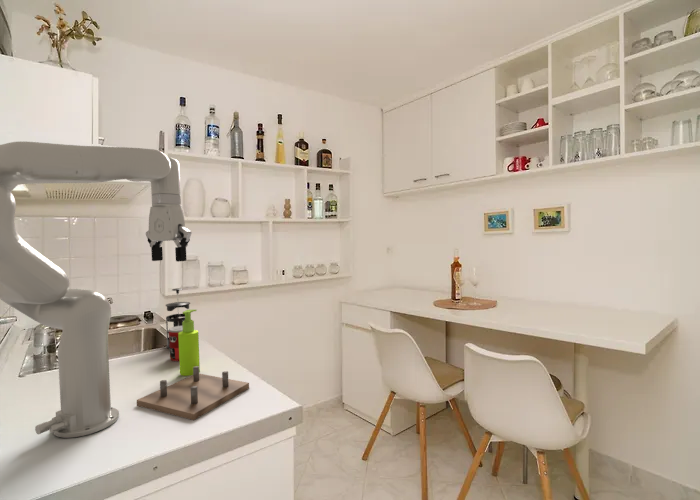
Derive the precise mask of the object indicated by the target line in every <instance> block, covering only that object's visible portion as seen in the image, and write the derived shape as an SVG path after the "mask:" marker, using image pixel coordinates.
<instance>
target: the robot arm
mask: <svg viewBox="0 0 700 500" xmlns="http://www.w3.org/2000/svg"><path fill="white" fill-rule="evenodd" d="M180 171H181V170H180V162H179V161H178V160H177V159H176V158H173V157H169V156H167V155H166V154H165V153H164V152H162V151H160V150H157V149H153V148H143V147H142V148H140V147H125V146H123V147H122V146H119V147H118V146H117V147H115V146H100V145H99V146H97V145H96V146H95V145H79V144H78V145H77V144H76V145H75V144H62V143H49V142H36V141H35V142H34V141H11V142H7V143H3V144H0V300H1V301H2V302H4V303H5V304H7V305H9V306H10V307H11V308H13V309H15V310H17V311H18V312H20V313H21V314H22V315H25V316H26V317H28V318H30V319H32V320H34V321H35V322H36V323H38V324H41V325H42V326H44V327H47V328H52V329H57V330H62V332H61V337H60V339H59V343H58V347H57V348H58V349H57V360H58V361H57V363H58V379H59V382H58V383H59V396H60V397H59V398H60V400H59V402H60V410H58V411H57V410H56V411H55V416H54V417H52V418H51V419H50V420H49V421H44V422H42V423H40V424H37V425H35V428H34V430H35V433H36V435H41V434H42V433H45V432H48V431H49V433H51V434H53V435H55V436H56V437H58V438H66V439H67V438H78V437H83V436H88V435H91V434H95V433H97V432H100V431H103V430H104V429H106V428H108V427H110V426H112V425H113V424H114V423H116V421H117V420H118V419H119V416H120V412H119V409H117V408H115V407H112V405H111V404H112V403H111V385H110V384H111V382H110V361H109V330H110V329H109V328H110V323H111V317H112V310H111V309H112V308H111V304H110V301H109V300H108V298H106V296H105V295H103V294H102V293H99V292H97V291H95V290H90V289H78V288H70V279H69V277H68V275H67V272H65V271H64V270H63V269H62V268H61V267H60V266H59V265H57V264H56V263H54V262H53V261H51V260H50V259H49V258H47V257H46V256H45V255H43V254H42V253H41V252H39V251H38V250H37V249H35V247H33V246H31V245H30V244H29V243H28V242H27V241H25V240H24V238H23V237H21V235H20V234H19V232H17V228H16V226H15V215H16V209H17V203H16V199H15V195H14V193H12V192H13V190H14V189H15V188H16V187H18V185H28V184H29V185H31V184H32V185H33V184H93V183H94V184H97V183H106V182H113V181H119V180H120V181H121V180H127V181H129V182H139V183H140V182H149V183H150V187H151V188H150V190H151V191H150V192H151V193H150V194H151V206H150V207H149V208H150V209H149V215H148V230H147V231H146V232H145V236H146V239H147V242H148V243H149V247H150V250H151V261H152V262H160V261H163V260H164V259H163V258H164V257H163V255H164V254H163V246H162V245H163V242H165V241H166V242H169V241H173V242H174V244H175V246H176V247H175V248H174V249H175V250H174V251H175V262H178V263H179V262H186V261H187V247H188V246H189V245H188V244H189V242H190V241H191V240H190V239H191V236H192V231H191V230H190V229H188V228H186V225H185V224H186V223H185V217H184V216H185V215H184V210H183V207H182V200H181V177H180V176H181V174H180V173H181V172H180Z"/></svg>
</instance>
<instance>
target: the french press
mask: <svg viewBox="0 0 700 500" xmlns="http://www.w3.org/2000/svg"><path fill="white" fill-rule="evenodd" d="M183 290H184V289H183V288H181V287H180V288H178V287H177V288H173V289H171V291H175V292H176V293H175V294H177V295H176V296H177V298H176V299H177V301H175V302H170V303H166V304H165V307H166V311H167V312H172V311H174V310H175V309H177V313H173V314H171V315H167V316H166V318H165V322H166V323H165V325H166V348H167V349H168V348H169V327H168V326H169V325H168V322H169V323H173V327H176V326H182V322H183V321H184V320H185V314H183V313H180V311H179V310H180V308H185V309H186V310H190V304H191V302H189V301H179V294H180V291H183ZM168 350H170V348H169V349H168Z"/></svg>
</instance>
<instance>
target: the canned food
mask: <svg viewBox="0 0 700 500" xmlns="http://www.w3.org/2000/svg"><path fill="white" fill-rule="evenodd" d="M168 330H169V333H168V337H169V348H170V349H169V358H170V360H171V361H172V362H179V338H178V333H179V332H182V331H183V328H182V326H176V327H174V326H172V327H170V328H168Z"/></svg>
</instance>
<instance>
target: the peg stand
mask: <svg viewBox="0 0 700 500" xmlns="http://www.w3.org/2000/svg"><path fill="white" fill-rule="evenodd" d="M167 382H168V381H167V379H162V380H159V389H158V390H155V391H153V392H152V393H149V394H147V395H144V396H142V397H140V398H138V399H136V406H138V407H139V408H140V407H141V408H145V409H148V410H152V411H156V412H160V413H165V414H168V415H172V416H176V417H180V418H183V419H188V420H191V421H195V420H197V419H198V418H201V417H202V416H204V415H205V414H207V413H209V412H211V411H213V410H214V409H215V408H217V407H219V406H220V405H223V404H225V403H226V402H228V401H229V400H231V399H233V398H235V397H236V396H238V395H240V394H241V393H243V392H245V391H247V390H248V389H250V382H247V381H241V380H236V379H232V378H231V379H230V378H229V371H228V370H226V371H222V373H221V377H220V376H214V375H209V374H203V373H200V372H199V366H195V367H193V375H191V376H186V377H185V378H182V379H181V380H179V381H177V382H174V383H172V384H169V385H167V384H168V383H167Z"/></svg>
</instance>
